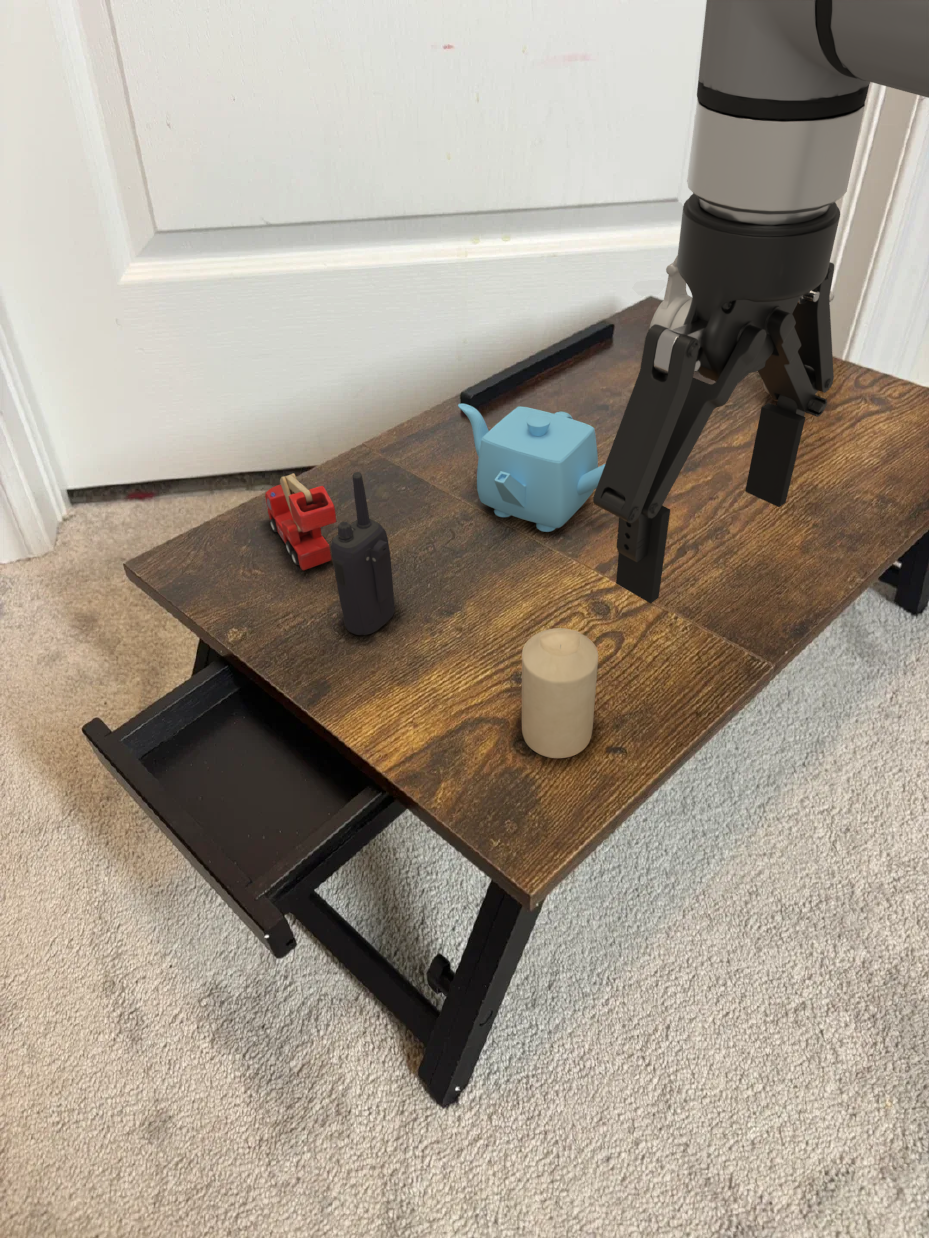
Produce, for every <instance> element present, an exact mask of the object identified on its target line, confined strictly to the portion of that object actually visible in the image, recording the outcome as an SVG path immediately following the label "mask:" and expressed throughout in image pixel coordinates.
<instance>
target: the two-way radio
mask: <svg viewBox="0 0 929 1238" xmlns="http://www.w3.org/2000/svg"><path fill="white" fill-rule="evenodd" d="M351 477H352V485H353V496H354V505H355V512H356V513H355V514H356V519H355V520H353V522H351V523H350V522H348V521H341V522H340V523H339V524H338V527H337V534H336V535H335V536H334V537H333V538H332V539H331V544H330V554H331V561H332V564H333V571H334V577H335V581H336V586H337V595H338V598H339V599H338V600H339V603H340V608H341V612H342V617H343V622H344V623H343V624H344V626H345V628H346V630H347V631H348V632H350V633H351V634H353V635H356V636H363V635H365V636H367V635H371V634H373V633H375V632H377V631H378V630H379V629H381V628H382V627H383V626H384V625H385V624H386V623H387V622H389V621H390V620H391V618H392V617H393V616H394V615H395V608H396V607H395V606H396V605H395V595H394V581H393V580H394V579H393V570H392V569H393V568H392V558H391V550H390V544H389V539H388V534H387V530H385V528H384V527H383V526H382V525H381V524H380V523H379V522H377V521H376V520H374V519H371V518H370V515H369V509H368V501H367V495H366V490H365V485H364V479H363V474H362V473H361V472H360V471H354V472H353V473H352V476H351Z"/></svg>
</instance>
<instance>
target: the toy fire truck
mask: <svg viewBox="0 0 929 1238" xmlns="http://www.w3.org/2000/svg"><path fill="white" fill-rule="evenodd" d="M264 497H265V499H264V500H265V505H266V507H267V514H268V517H269V524H270V526H271V529H272V531H273V532H274V533H278V535H279V536H280V538H281V540H282V541H283V542H284V544H285V549H286V550H287V553H288V555H289V556H291V559H292V561H293V563H294V565H296V566H299V567H300V569H301V570H302V571H306V570H308V569H312V568H314V567H317V566H321V565H323V564H325V563H328V562H331V561H332V554H331V545H330V544H329V542H327V540H326V539H325V538H324V536H323V535H322V529H321V528H323V527H326V526H329V525H334V524H337V513H336V509H335V505H334V504H335V503H333V501H332V499H331V497H330V495H329V493H328V491H327V490H326V488H325V486H324V485H319V486H316V487H313V488H309V489H308V487H306V486H305V485H303V484H302V483H301V482H300V481H299V480H298V479H297V476H296V474H295V473H291V474H289V475H285V476H281V477H280V480H279V484H278V485H274V486H273V487H271V488H269V489H267V491H266V492H265V493H264Z"/></svg>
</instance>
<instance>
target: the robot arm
mask: <svg viewBox="0 0 929 1238" xmlns="http://www.w3.org/2000/svg"><path fill="white" fill-rule="evenodd" d="M701 39H702V41H701V50H700V59H699V68H698V78H697V87H696V105H695V106H696V107H695V114H694V120H693V130H692V137H691V146H690V152H689V153H690V154H689V162H688V169H687V179H686V183H687V188H688V189H689V191H690V192H691V193H692V194H690V196H689V198H687V199H686V200H685V202H684V203H683V206H682V214H681V222H680V230H679V231H680V233H679V241H678V248H677V255H678V257H677V256H676V257H677V268H678V271H679V273H680V275H681V277H682V278H683V279H684V280H685V282H686V286H687V287H688V289H689V291H690V294H691V297H692V301H691V305H690V308H689V311H688V314H687V317H686V319H685V321H684V324H683V326H681V327H678V328H675V329H672V330H671V329H669V328H666V327H664V326H661V325H658V324H654V325H653V326H652V327H651V328H650V327H649V328H650V329H649V328H648V331H647V333H646V336H645V339H644V344H643V350H642V358H641V362H640V368H639V372H638V375H637V377H636V380H635V383H634V386H633V389H632V391H631V394H630V397H629V399H628V402H627V405H626V407H625V409H624V413H623V415H622V418H621V421H620V423H619V427H618V428H617V432H616V435H615V436H614V440H613V442H612V445H611V447H610V451H609V453H608V456H607V459H606V462H605V463H604V464H605V467H604V469H603V472H602V475H601V477H600V480H599V483H598V485H597V488H596V489H595V490H594V494H593V497H592V503H593V504H594V505H595V506H597V507H599V508H601V509H602V510H604V511H606V512H608V513H610V514H612V515H614V516H616V517H617V518H618V525H617V535H616V538H617V540H616V550H617V552H618V556H617V567H616V576H615V577H616V579H615V584H616V585H618V586H620V587H621V588H623V589H625V590H626V591H628V592H630V593H631V594H633V595H635V596H637V597H639V598H640V599H642V600H644V601H645V602H647V603H648V604H653V603H654V602H655V601H657V600H658V599H659V598H660V591H661V590H660V589H661V583H662V578H663V577H662V575H663V568H664V561H665V554H666V553H665V552H666V548H667V547H666V546H667V540H668V531H669V523H670V516H671V508H668V507H666V506H664V502H665V501H666V499H667V497H668V496H669V493H671V492H670V491H671V490H672V488H673V487H674V484H675V482H676V481H677V479H678V477H679V475H680V474H681V472H682V470H683V467H684V466H685V464H686V462H687V461H688V458H689V456H690V455H691V453H692V451H693V450H694V447H695V446H696V443H697V442H698V440H699V438H700V436H701V434H702V432H703V430H704V428H705V426H706V425H707V423H708V422H709V419H710V417H711V415H712V413H713V412H714V411H715V409H716V408H719V407H723V406H725V405H726V404H727V403H728V402H729V400H730V398H731V396H732V394H733V392H734V390H735V388H736V387H737V385H738V384H739V383H740V382H742V381H743V380H744V379H745V378H746V377H747V376H748V375H749V374H752V373H756V372H757V373H758V374H759V376H760V378H761V380H762V383H763V382H764V384H765V386H766V388H767V390H768V392H769V394H768V395H769V396H770V398H771V399H772V401H775V402H776V405H775V404H773V403H771V402H767V403H765V404H763V405H762V406H761V408H760V412H759V413H760V414H759V418H758V419H759V420H758V423H757V428H756V434H755V439H754V445H753V449H752V454H751V459H750V465H749V470H748V475H747V479H746V484H745V489H744V492H745V493H747V494H749V495H751V496H753V497H756V498H758V499H760V500H762V501H764V502H766V503H769V504H771V505H772V506H775V507H777V508H781V507H782V506H783V505H785V504H786V503H787V499H788V496H789V495H788V494H789V490H790V486H791V483H792V482H791V481H792V478H793V473H794V470H795V469H794V468H795V464H796V462H797V461H796V460H797V456H798V452H799V448H800V443H801V439H802V435H803V430H804V427H805V422H806V416H805V414H808V415H811V416H814V417H816V418H818V417H820V416H821V415H822V414H823V413H824V411H825V409H826V408H827V405H828V399H827V398H825V397H821V396H819V395H817V393H818V392H821V393H824V394H825V393H827V392H828V391H829V390H830V388H832V386H833V384H834V383H833V382H834V378H835V375H834V374H835V373H834V355H833V339H832V321H831V304H830V303H831V302H830V300H829V297H830V291H832V290H831V289H832V285H833V279H834V274H835V263H834V262H831V259H832V255H833V254H832V253H833V250H834V245H835V240H836V237H837V231H838V227H839V222H840V219H841V209H840V208H839V207H838V205H837V203H836V202H837V201H839V200H840V199H841V198H843V196H845V194H846V193H847V192H848V187H849V183H850V177H851V173H852V167H853V164H854V159H855V153H856V149H857V144H858V139H859V136H860V131H861V126H862V121H863V115H864V111H865V107H866V101H867V98H868V97H867V96H868V93H869V89H870V84H871V83H873V84H876V85H880V86H883V87H887V88H891V89H894V90H899V91H902V92H906V93H910V94H913V95H916V96H921V97H924V98H927V99H929V0H706V3H705V12H704V22H703V31H702V38H701ZM696 372H698V373H699V374H700V375H701V376H702V377H703V378H706V379H709V380H711V381H714V383H708V382H706V381H703V380H700V379H698V378H695V377H694V373H696Z"/></svg>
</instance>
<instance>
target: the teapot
mask: <svg viewBox="0 0 929 1238" xmlns="http://www.w3.org/2000/svg"><path fill="white" fill-rule="evenodd" d="M457 407H458V408H459V410H460V411H462V412H463V413H464V414H465V416H466V418H467V419H468V420H469V422H470V425H471V429H472V434H473V443H474V448H475V452H476V455H477V457H478V458H477V469H476V491H477V495H478V499H479V501H480V502H481V503H482V504H483V505H485V506H488V507H490V508H491V509H494V510H493V512H494V514H495V516H496V517H500V518H509V517H511V516H512V517H515V518H518V519H521V520H525V521H527V522H531V523H534V524H535V527H536V529H537V530H539V531H541V532H545V533H549V532H553V531H555V530H556V529H560V528H561V527H563V526H564V525H565V524H566V523H567V522H568V521H570V519H571V518H573V516H574V515H575V514H576V513H577V512H578V511H579V510H580V509H581V508H582V507H583V505H584V504H585V503H586V502H587V500H588V499H589V498H590V497H591V496H592V495H593V493H594V492H595V490H596V488H597V485H598V483H599V480H600V477H601V475H602V472H603V469H604V467H605V464H606V463H604V464H602V465H599V457H598V444H597V437H596V430H595V427H594V426H592V425H590V424H588V423H585V422H582V421H579V420H576V419H573V417H572V415H571V414H570V413H568V412H567V411H556V412H554V413H553V412H549V411H545V410H541V409H536V408H533V407H527V406H520V405H519V406H516V407H515V408H514V409H513V410H511V411H510V412H509V413H508V414H507V415H505V416H504V417H503V418H502V419H501V420H500V421H499V422H497V423H496V424H495V425H494V426H493V427H492V428H491V429H490V430H489V427H488V425H487V423H486V421H485V418H484V417H483V415H482V414H481V412H480V411H479V410H478V409H477V408H476V407H474V406H472V405H469V404H467V403H458V405H457Z"/></svg>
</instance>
